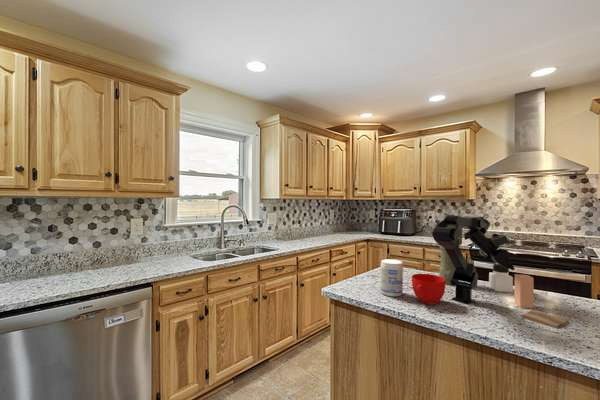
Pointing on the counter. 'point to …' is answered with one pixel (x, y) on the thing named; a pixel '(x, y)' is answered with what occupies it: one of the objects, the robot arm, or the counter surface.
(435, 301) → the ceramic cup
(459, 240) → the thermos
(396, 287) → the supplement tub
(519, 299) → the terracotta block
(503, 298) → the counter surface
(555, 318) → the walnut board
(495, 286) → the medicine bottle
